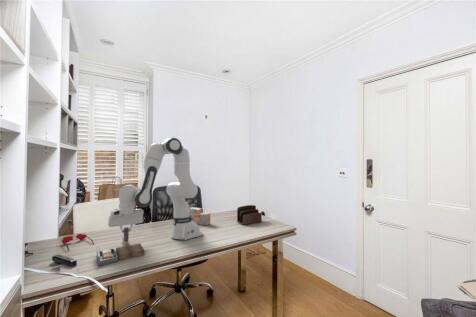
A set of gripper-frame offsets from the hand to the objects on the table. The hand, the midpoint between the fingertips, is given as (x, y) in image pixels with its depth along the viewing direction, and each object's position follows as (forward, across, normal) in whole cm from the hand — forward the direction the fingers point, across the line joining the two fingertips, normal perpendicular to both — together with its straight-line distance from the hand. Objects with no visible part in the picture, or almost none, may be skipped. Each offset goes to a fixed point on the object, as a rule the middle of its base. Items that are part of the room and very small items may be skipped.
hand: (126, 231), depth 144 cm
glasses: (+9, +26, -18) cm, 33 cm away
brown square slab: (+8, 0, +17) cm, 19 cm away
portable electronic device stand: (+9, +31, +10) cm, 34 cm away
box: (+8, +12, +17) cm, 22 cm away
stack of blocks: (+8, -60, -21) cm, 65 cm away
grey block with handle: (+8, 0, 0) cm, 8 cm away
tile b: (+5, +12, +20) cm, 24 cm away
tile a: (+5, +12, +14) cm, 19 cm away
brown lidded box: (+8, -99, +1) cm, 99 cm away
